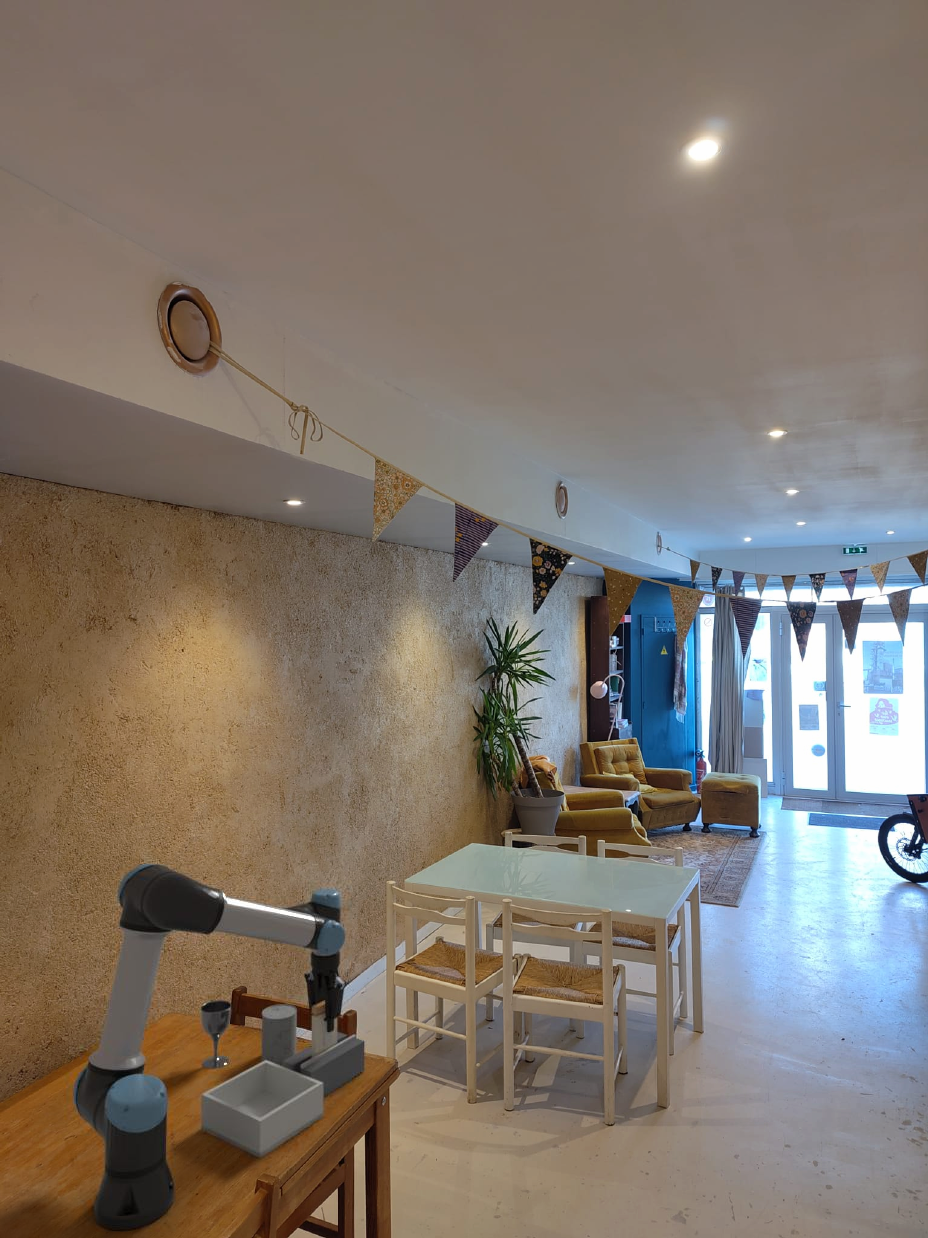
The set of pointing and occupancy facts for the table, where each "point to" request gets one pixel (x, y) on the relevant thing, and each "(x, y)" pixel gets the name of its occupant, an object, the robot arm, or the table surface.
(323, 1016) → the cream flat board
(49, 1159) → the table surface
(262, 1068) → the bin
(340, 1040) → the dispenser
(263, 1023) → the grey cylinder
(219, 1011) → the wine glass
